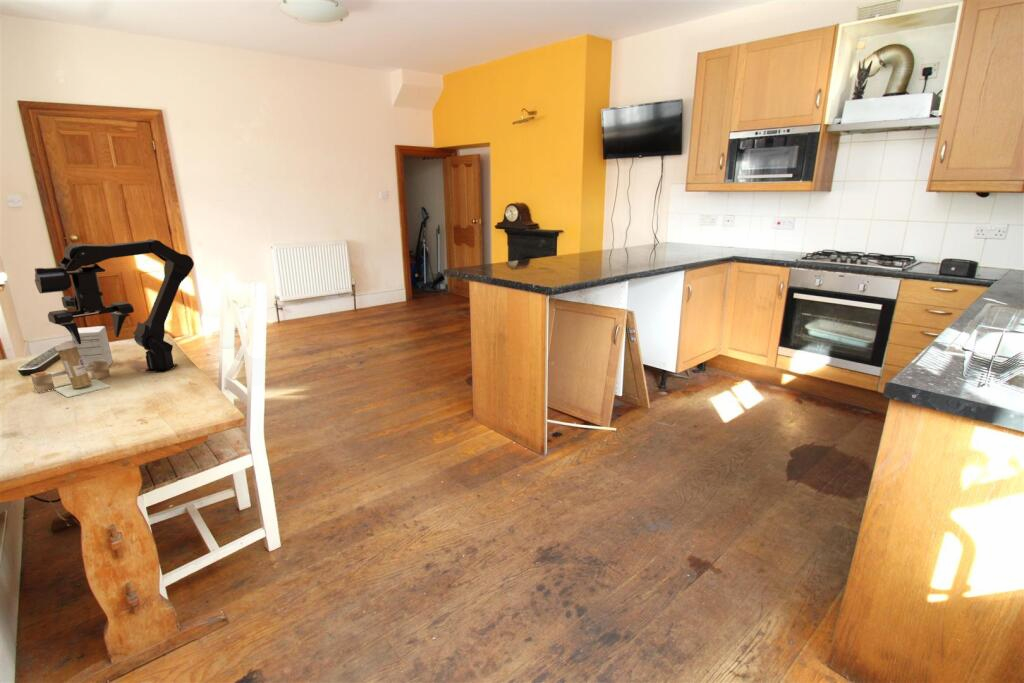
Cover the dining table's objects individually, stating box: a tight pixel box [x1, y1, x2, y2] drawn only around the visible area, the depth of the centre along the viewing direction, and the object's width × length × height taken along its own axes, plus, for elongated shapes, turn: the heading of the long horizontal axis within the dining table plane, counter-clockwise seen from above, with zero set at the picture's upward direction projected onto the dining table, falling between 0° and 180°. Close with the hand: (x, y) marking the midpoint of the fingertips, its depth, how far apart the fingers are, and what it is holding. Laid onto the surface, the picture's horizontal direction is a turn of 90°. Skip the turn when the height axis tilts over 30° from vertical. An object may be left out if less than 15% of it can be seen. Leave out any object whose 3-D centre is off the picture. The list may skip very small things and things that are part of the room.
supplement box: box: [70, 325, 114, 371], centre depth 162 cm, size 7×7×13 cm
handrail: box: [30, 359, 111, 393], centre depth 149 cm, size 17×4×5 cm, turn 147°
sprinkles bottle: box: [54, 339, 92, 388], centre depth 144 cm, size 5×5×14 cm
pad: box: [53, 378, 111, 399], centre depth 146 cm, size 10×10×1 cm
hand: (98, 340), depth 148 cm, fingers open, 9 cm apart
